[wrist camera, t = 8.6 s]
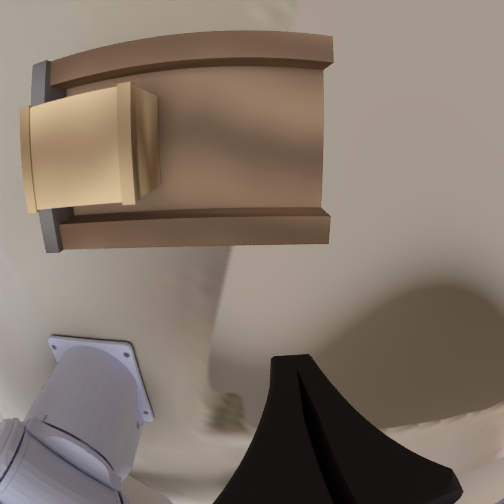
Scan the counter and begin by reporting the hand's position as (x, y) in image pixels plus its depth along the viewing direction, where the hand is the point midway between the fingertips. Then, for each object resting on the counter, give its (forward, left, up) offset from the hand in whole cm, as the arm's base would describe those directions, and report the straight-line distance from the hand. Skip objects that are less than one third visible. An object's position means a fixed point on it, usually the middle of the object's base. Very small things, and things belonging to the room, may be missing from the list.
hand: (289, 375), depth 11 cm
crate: (+8, +9, -9) cm, 15 cm away
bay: (+8, +5, -10) cm, 14 cm away
